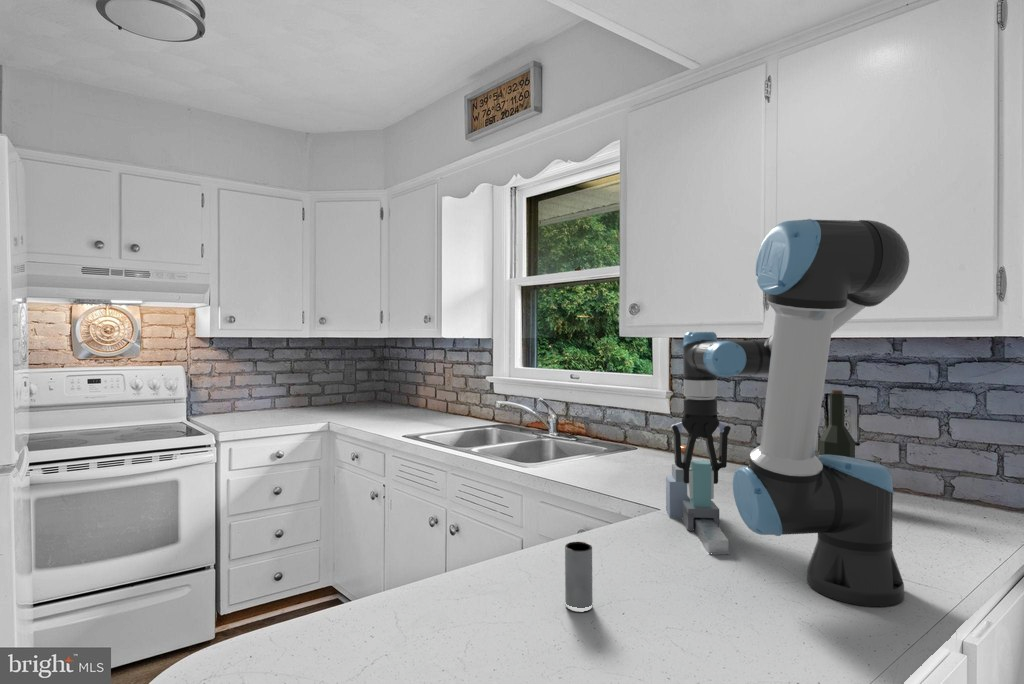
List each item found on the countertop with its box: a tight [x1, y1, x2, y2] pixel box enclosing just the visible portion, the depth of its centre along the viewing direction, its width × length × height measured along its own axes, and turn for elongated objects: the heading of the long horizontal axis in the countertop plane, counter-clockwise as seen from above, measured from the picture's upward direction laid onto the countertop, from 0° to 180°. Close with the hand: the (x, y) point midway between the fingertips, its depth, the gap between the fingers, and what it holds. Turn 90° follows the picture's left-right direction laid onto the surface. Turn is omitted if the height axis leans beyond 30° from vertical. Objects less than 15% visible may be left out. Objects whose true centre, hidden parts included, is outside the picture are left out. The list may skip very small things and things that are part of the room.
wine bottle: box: [818, 389, 856, 458], centre depth 161 cm, size 8×8×30 cm
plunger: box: [680, 444, 696, 469], centre depth 152 cm, size 4×4×8 cm
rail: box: [693, 518, 730, 555], centre depth 137 cm, size 23×4×3 cm, turn 175°
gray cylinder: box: [564, 541, 594, 608], centre depth 102 cm, size 4×4×10 cm
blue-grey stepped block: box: [665, 463, 690, 519], centre depth 153 cm, size 6×9×12 cm, turn 85°
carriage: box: [682, 459, 720, 531], centre depth 143 cm, size 7×7×15 cm
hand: (700, 496), depth 143 cm, fingers closed on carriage, 4 cm apart
